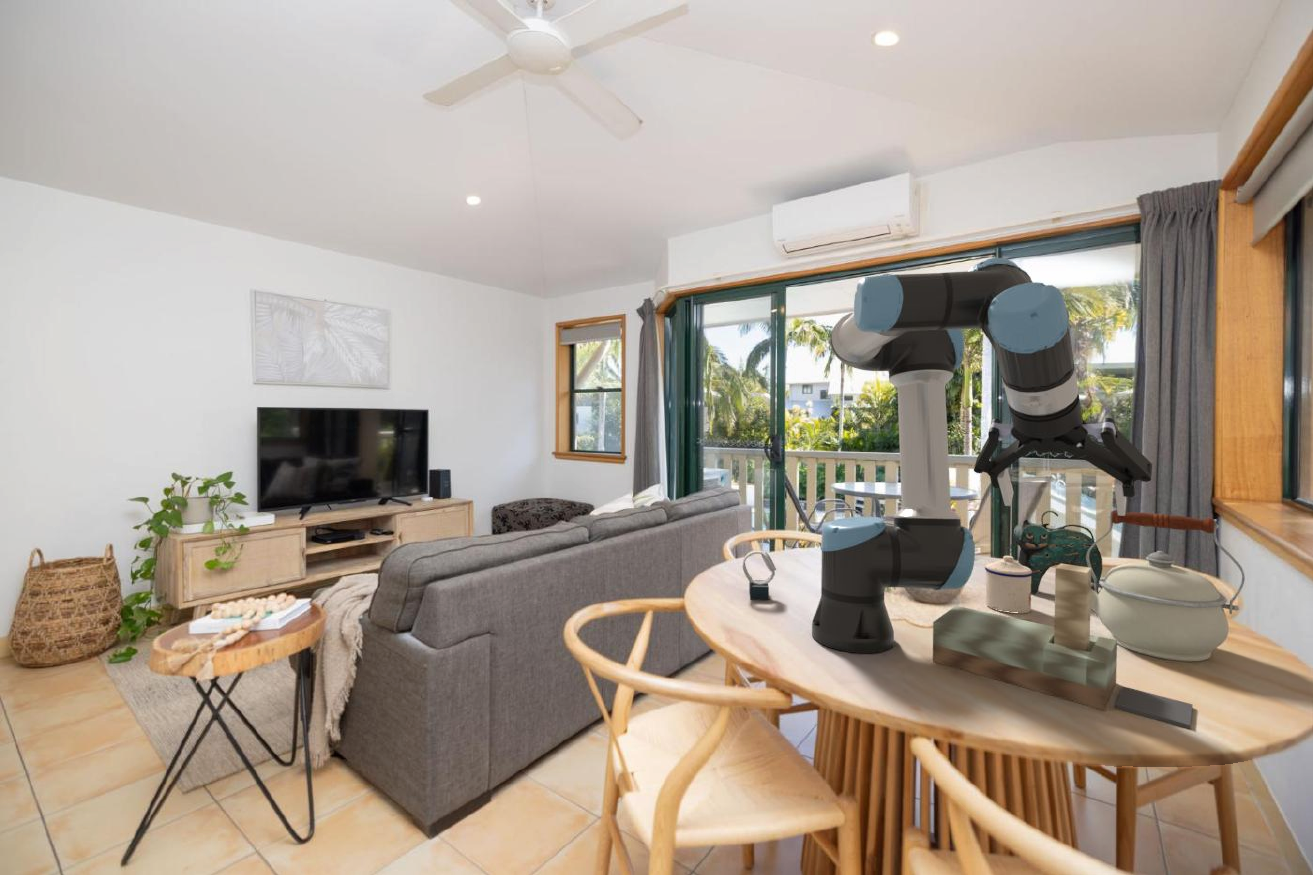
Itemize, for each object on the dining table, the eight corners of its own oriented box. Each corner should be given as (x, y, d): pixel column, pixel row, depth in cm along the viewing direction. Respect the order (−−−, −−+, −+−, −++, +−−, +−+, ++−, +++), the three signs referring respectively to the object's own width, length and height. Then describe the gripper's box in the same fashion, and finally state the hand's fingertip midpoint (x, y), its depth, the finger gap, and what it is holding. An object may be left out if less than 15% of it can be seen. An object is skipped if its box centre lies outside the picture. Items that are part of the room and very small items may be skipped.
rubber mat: (1115, 708, 83) (1115, 704, 83) (1122, 689, 89) (1122, 686, 89) (1190, 728, 78) (1190, 725, 78) (1192, 707, 83) (1192, 704, 83)
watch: (777, 600, 133) (777, 554, 133) (742, 599, 134) (742, 553, 134) (775, 593, 139) (775, 548, 138) (742, 592, 140) (742, 548, 139)
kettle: (1240, 648, 104) (1244, 514, 103) (1243, 681, 91) (1248, 528, 90) (1073, 615, 122) (1076, 500, 121) (1056, 639, 109) (1059, 511, 108)
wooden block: (1053, 667, 90) (1055, 568, 90) (1058, 659, 93) (1060, 563, 93) (1084, 675, 87) (1086, 572, 87) (1089, 666, 90) (1091, 567, 90)
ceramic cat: (1022, 594, 136) (1023, 512, 135) (1006, 586, 143) (1007, 508, 142) (1106, 595, 135) (1108, 512, 135) (1087, 587, 142) (1088, 508, 141)
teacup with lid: (1041, 615, 122) (1042, 561, 122) (997, 614, 123) (998, 561, 122) (1010, 597, 134) (1011, 548, 134) (970, 596, 135) (971, 548, 134)
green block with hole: (932, 661, 100) (933, 622, 99) (955, 641, 108) (955, 605, 108) (1105, 710, 83) (1106, 663, 82) (1116, 683, 91) (1117, 640, 91)
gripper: (931, 419, 79) (964, 514, 90) (1173, 417, 61) (1176, 535, 72) (944, 383, 83) (974, 478, 94) (1176, 371, 65) (1178, 490, 76)
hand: (1062, 503), depth 83 cm, fingers open, 13 cm apart
